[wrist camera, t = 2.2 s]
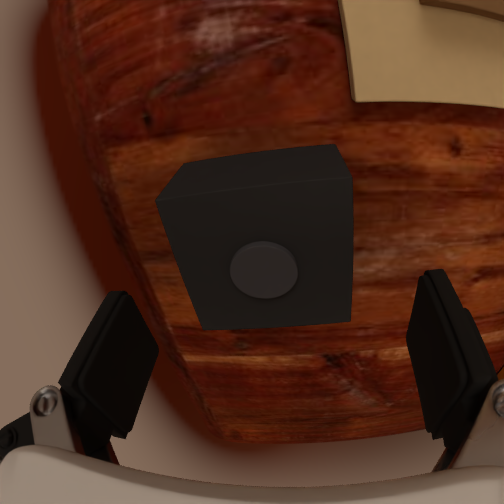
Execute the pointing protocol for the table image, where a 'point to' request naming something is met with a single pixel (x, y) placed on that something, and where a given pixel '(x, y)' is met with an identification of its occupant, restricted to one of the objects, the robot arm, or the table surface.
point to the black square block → (264, 237)
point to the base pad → (425, 50)
